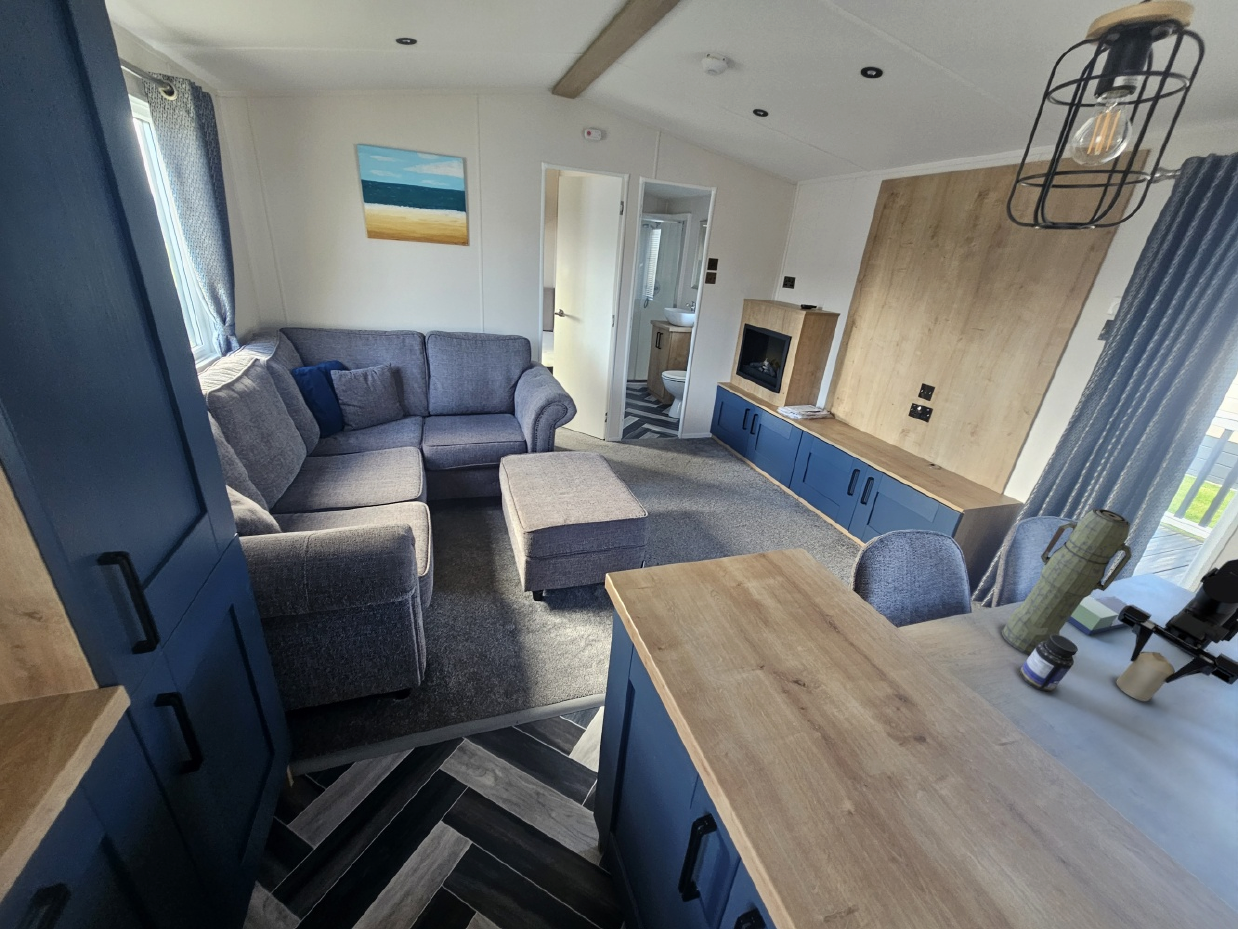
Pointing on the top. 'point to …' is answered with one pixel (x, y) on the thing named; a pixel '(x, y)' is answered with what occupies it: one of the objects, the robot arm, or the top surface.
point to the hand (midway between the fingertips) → (1148, 671)
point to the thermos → (1069, 577)
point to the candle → (1145, 675)
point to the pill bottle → (1049, 662)
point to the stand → (1097, 615)
